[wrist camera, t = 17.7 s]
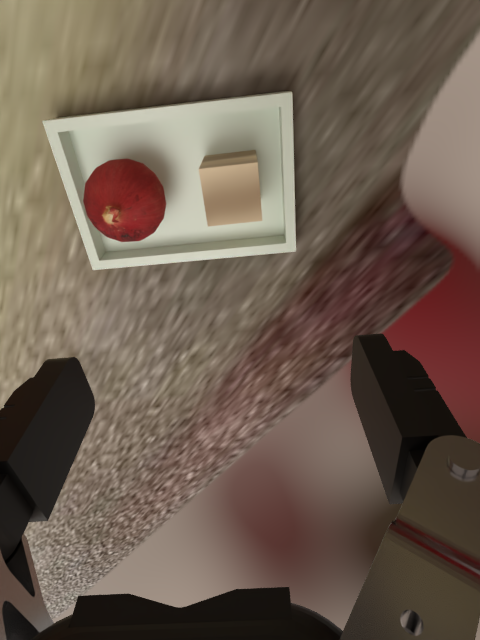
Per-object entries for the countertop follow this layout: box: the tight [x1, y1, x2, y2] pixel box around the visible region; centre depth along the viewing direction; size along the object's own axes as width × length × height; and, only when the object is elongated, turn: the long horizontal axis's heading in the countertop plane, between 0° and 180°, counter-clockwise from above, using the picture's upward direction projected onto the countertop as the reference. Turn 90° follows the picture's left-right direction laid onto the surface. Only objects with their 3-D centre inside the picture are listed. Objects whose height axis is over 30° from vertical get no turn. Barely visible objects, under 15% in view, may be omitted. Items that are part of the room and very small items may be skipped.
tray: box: [42, 91, 296, 270], centre depth 31 cm, size 12×18×2 cm, turn 96°
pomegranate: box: [83, 159, 166, 242], centre depth 28 cm, size 6×6×8 cm
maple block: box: [199, 150, 262, 226], centre depth 29 cm, size 4×4×5 cm
